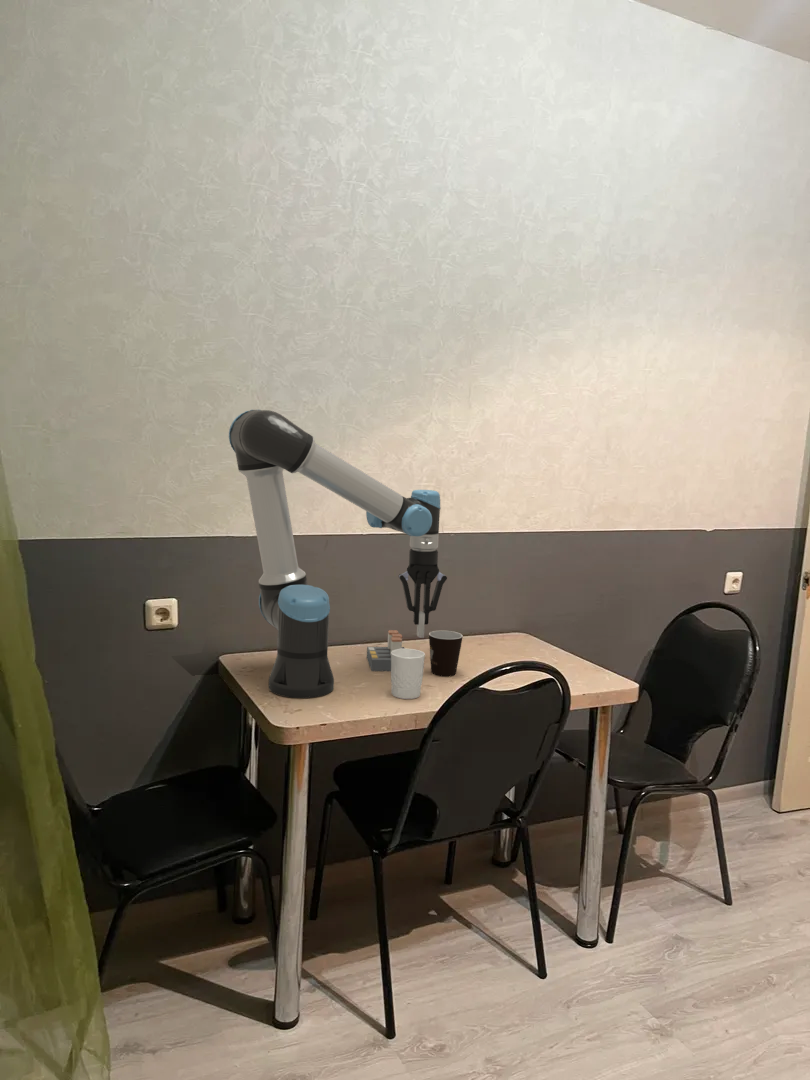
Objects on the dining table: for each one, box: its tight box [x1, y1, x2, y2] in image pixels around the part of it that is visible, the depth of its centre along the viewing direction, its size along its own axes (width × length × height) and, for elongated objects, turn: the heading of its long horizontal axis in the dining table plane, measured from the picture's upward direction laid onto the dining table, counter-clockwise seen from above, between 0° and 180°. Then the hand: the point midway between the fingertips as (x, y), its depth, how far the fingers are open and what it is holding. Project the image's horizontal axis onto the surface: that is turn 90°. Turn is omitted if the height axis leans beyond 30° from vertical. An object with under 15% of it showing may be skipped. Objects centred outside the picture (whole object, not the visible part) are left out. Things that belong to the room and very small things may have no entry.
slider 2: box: [392, 633, 403, 649], centre depth 211 cm, size 2×2×4 cm
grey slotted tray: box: [366, 646, 405, 672], centre depth 211 cm, size 10×12×3 cm
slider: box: [386, 629, 400, 649], centre depth 215 cm, size 2×2×4 cm
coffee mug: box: [428, 629, 464, 678], centre depth 208 cm, size 12×9×10 cm
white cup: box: [390, 647, 426, 700], centre depth 188 cm, size 8×8×10 cm
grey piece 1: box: [390, 637, 403, 655], centre depth 208 cm, size 2×2×4 cm
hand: (420, 636), depth 216 cm, fingers closed
